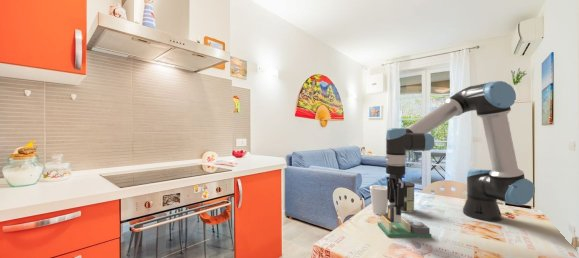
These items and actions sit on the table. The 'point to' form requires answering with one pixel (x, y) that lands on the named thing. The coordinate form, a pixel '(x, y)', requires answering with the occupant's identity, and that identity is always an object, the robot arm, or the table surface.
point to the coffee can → (408, 197)
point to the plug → (390, 214)
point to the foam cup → (379, 199)
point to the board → (404, 228)
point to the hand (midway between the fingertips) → (394, 219)
